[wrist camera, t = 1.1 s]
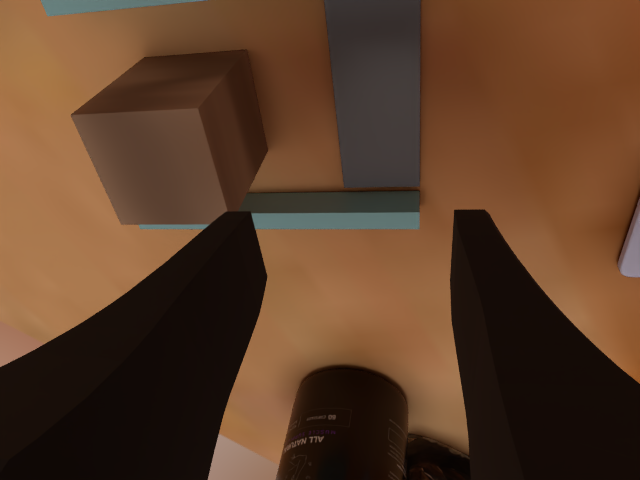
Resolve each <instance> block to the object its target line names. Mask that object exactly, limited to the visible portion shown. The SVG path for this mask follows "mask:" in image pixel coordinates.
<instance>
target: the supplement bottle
mask: <svg viewBox="0 0 640 480" xmlns="http://www.w3.org/2000/svg"><path fill="white" fill-rule="evenodd" d="M407 447H408V407H407V404H406V401H405V399H404V397H403V396H402V394H401V393H400V392H399V391H398V389H396V388H395V387H394V386H393V385H392V384H391V383H389V382H388V381H386V380H384V379H383V378H381V377H378V376H376V375H374V374H371V373H368V372H364V371H360V370H354V369H330V370H325V371H322V372H319V373H316V374H314V375H312V376H311V377H309V378H308V379H306V380H305V381H304V382H303V383H302V384H301V386H300V387H299V389H298V391H297V394H296V398H295V402H294V406H293V409H292V413H291V418H290V422H289V426H288V430H287V434H286V439H285V443H284V447H283V451H282V456H281V460H280V464H279V468H278V472H277V477H276V480H406V474H407Z"/></svg>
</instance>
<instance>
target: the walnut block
mask: <svg viewBox="0 0 640 480" xmlns="http://www.w3.org/2000/svg"><path fill="white" fill-rule="evenodd" d="M71 117H72V119H73V121H74V124H75V126H76V128H77V130H78V132H79V134H80V137H81V139H82V141H83V143H84V145H85V147H86V150H87V152H88V154H89V156H90V158H91V160H92V163H93V165H94V167H95V169H96V171H97V173H98V176H99V178H100V180H101V182H102V184H103V186H104V188H105V191H106V193H107V195H108V197H109V199H110V201H111V204H112V206H113V208H114V210H115V212H116V214H117V217H118V219H119V221H120V223H121V225H192V224H211V223H212V222H213V221H214V220H216V219H217V218H218V217H219V216H221V215H222V214H223V213H225V212H226V211H238V210H239V208H240V206H241V204H242V202H243V200H244V198H245V196H246V194H247V192H248V190H249V188H250V186H251V184H252V182H253V180H254V178H255V176H256V174H257V172H258V170H259V168H260V166H261V164H262V162H263V160H264V158H265V156H266V154H267V152H268V148H267V143H266V138H265V134H264V129H263V124H262V119H261V114H260V110H259V105H258V100H257V95H256V90H255V86H254V81H253V76H252V71H251V66H250V62H249V57H248V52H247V50H235V51H222V52H209V53H196V54H183V55H170V56H157V57H144V58H143V59H142V60H140V61H139V62H138V63H136V64H135V65H134V66H133V67H131V68H130V69H129V70H128V71H126V72H125V73H124V74H122V75H121V76H120V77H119V78H117V79H116V80H115V81H113V82H112V83H111V84H110V85H108V86H107V87H106V88H104V89H103V90H102V91H101V92H99V93H98V94H97V95H96V96H94V97H93V98H92V99H90V100H89V101H88V102H87V103H85V104H84V105H83V106H81V107H80V108H79V109H78V110H76V111H75V112H74V113H72V114H71Z"/></svg>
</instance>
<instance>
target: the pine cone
mask: <svg viewBox="0 0 640 480" xmlns="http://www.w3.org/2000/svg"><path fill="white" fill-rule="evenodd" d="M408 437H410V438H417V439H415V440H413V441H411V442H410V443H409V444H408V447H407V474H406V480H471V473H470V457H469V456H467V455H465V454H463V453H461V452H459V451H457V450H455V449H453V448H451V447H449V446H447V445H445V444H442V443H440V442H438V441H436V440H433V439H430V438H423V437H422V436H417V435H410V434H408Z"/></svg>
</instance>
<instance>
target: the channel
mask: <svg viewBox="0 0 640 480" xmlns="http://www.w3.org/2000/svg"><path fill="white" fill-rule="evenodd" d="M196 1H206V0H41V2H42V4H43V7H44V9H45V11H46V14H47V16H55V15H65V14H75V13H85V12H96V11H106V10H116V9H126V8H136V7H146V6H156V5H166V4H176V3H186V2H196ZM324 4H325V13H326V23H327V32H328V41H329V51H330V60H331V69H332V79H333V88H334V97H335V107H336V116H337V125H338V135H339V144H340V154H341V163H342V172H343V182H344V188H354V187H414V186H420V0H324ZM419 199H420V191H372V192H306V193H247V194H246V196H245V198H244V200H243V202H242V204H241V206H240V208H239V210H238V211H251V214H252V218H253V222H254V226H255V229H419ZM209 225H210V224H192V225H139V227H140V229H205V228H206V227H207V226H209Z"/></svg>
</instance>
